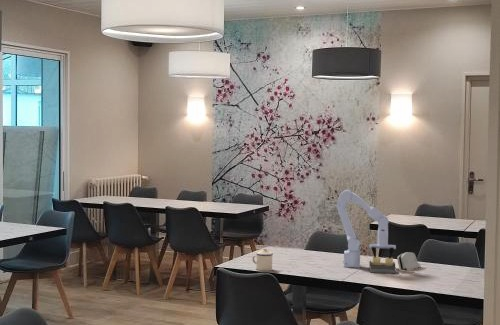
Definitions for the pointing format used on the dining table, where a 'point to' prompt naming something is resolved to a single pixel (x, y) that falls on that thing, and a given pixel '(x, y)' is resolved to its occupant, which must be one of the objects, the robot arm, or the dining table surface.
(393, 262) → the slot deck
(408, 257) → the light grey rounded slab
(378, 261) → the wooden cube
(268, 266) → the teacup with lid
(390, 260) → the tan wooden cube
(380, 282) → the dining table surface
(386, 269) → the tray
